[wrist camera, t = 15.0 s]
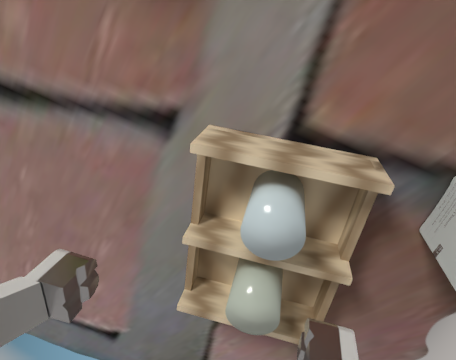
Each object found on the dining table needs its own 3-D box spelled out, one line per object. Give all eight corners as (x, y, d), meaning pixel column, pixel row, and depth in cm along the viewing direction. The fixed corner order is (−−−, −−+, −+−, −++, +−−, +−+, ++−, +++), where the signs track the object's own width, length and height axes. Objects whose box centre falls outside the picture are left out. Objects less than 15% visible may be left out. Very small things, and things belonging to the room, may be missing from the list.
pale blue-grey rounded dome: (310, 175, 36) (313, 215, 28) (297, 219, 38) (296, 267, 31) (257, 164, 36) (245, 200, 28) (248, 208, 39) (236, 251, 31)
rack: (376, 158, 34) (394, 186, 28) (317, 307, 46) (320, 351, 39) (209, 124, 37) (190, 143, 30) (192, 274, 48) (176, 310, 42)
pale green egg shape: (287, 252, 41) (285, 304, 33) (278, 285, 44) (273, 340, 36) (242, 241, 42) (229, 289, 34) (235, 274, 45) (222, 326, 37)
